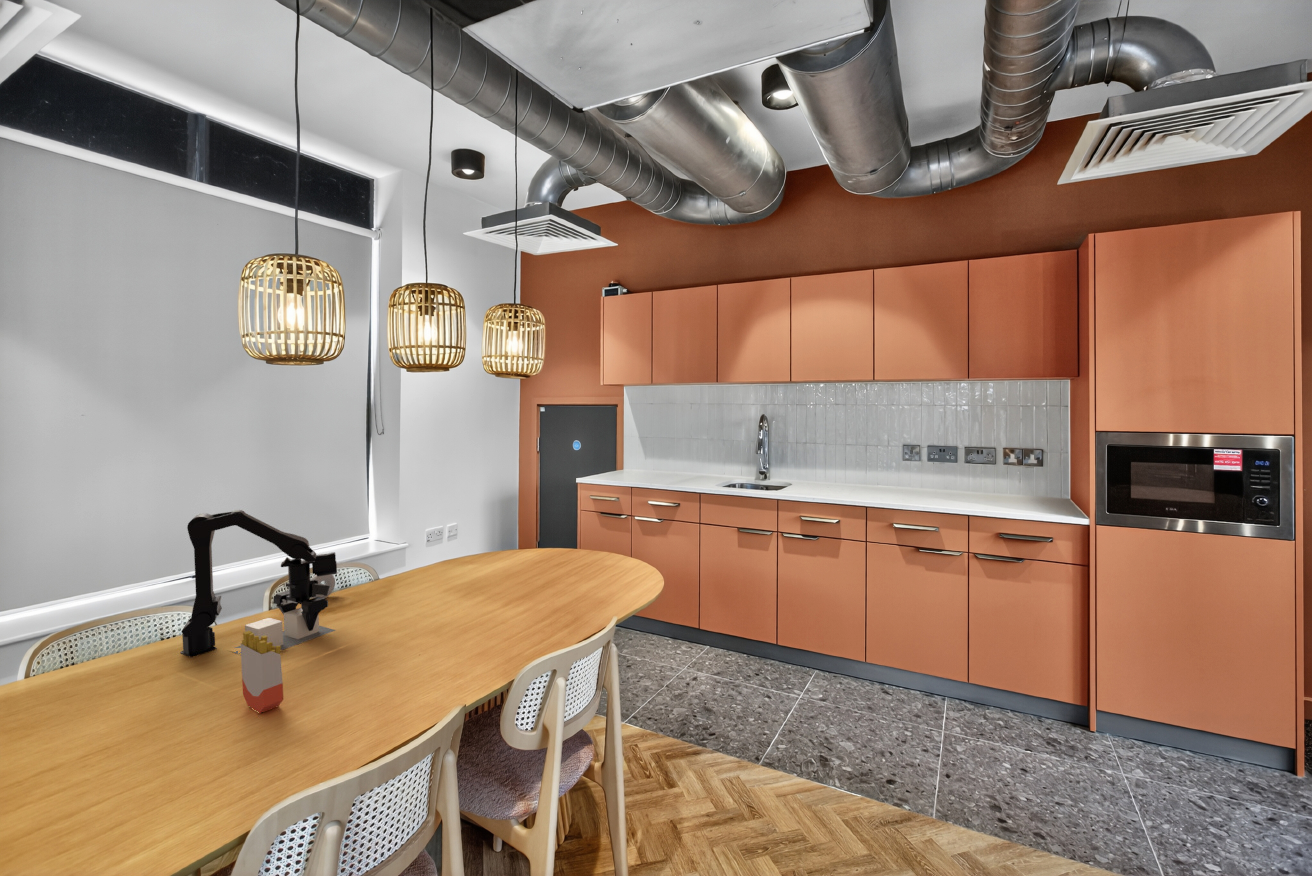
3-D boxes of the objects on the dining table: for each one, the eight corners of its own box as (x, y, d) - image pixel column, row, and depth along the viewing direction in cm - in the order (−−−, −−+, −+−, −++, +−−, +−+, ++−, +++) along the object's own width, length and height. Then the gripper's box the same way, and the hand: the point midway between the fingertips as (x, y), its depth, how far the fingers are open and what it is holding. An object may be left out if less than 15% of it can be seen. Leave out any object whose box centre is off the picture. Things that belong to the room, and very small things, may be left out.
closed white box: (297, 639, 178) (296, 616, 178) (284, 635, 181) (283, 612, 181) (319, 631, 184) (318, 609, 184) (306, 627, 187) (305, 606, 187)
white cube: (259, 652, 168) (258, 629, 168) (246, 648, 171) (244, 625, 171) (283, 644, 174) (282, 621, 174) (270, 640, 177) (269, 617, 177)
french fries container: (264, 695, 144) (260, 624, 143) (285, 708, 138) (282, 634, 137) (243, 703, 141) (239, 630, 139) (264, 717, 135) (260, 640, 133)
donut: (313, 603, 210) (312, 576, 210) (306, 602, 211) (305, 575, 211) (337, 595, 219) (336, 568, 219) (331, 594, 221) (330, 567, 220)
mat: (255, 660, 164) (254, 659, 164) (227, 651, 170) (227, 650, 170) (336, 630, 185) (336, 629, 185) (308, 623, 192) (308, 622, 192)
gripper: (343, 575, 184) (345, 624, 185) (306, 568, 193) (308, 614, 194) (308, 585, 174) (310, 636, 175) (271, 577, 183) (273, 626, 184)
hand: (301, 627), depth 182 cm, fingers open, 9 cm apart
